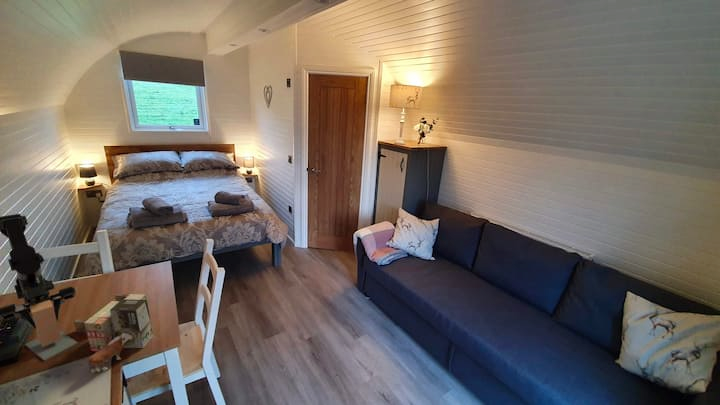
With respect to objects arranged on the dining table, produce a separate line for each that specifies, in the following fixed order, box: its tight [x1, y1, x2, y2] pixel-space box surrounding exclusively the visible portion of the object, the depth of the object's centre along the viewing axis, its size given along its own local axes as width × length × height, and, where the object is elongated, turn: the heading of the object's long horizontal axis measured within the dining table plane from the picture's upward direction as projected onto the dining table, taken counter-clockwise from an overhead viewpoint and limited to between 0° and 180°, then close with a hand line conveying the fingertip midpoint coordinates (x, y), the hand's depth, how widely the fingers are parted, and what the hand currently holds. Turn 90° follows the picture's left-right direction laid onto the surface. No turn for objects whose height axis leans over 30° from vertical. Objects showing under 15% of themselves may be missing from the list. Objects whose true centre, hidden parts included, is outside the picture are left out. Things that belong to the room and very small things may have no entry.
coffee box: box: [110, 299, 154, 349], centre depth 111 cm, size 9×6×16 cm
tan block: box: [29, 300, 62, 347], centre depth 107 cm, size 5×5×14 cm
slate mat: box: [25, 329, 79, 362], centre depth 109 cm, size 14×9×1 cm, turn 64°
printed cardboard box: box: [84, 293, 147, 352], centre depth 116 cm, size 21×6×12 cm, turn 179°
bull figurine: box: [87, 332, 133, 374], centre depth 103 cm, size 4×13×8 cm, turn 161°
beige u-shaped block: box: [73, 293, 130, 334], centre depth 124 cm, size 9×18×4 cm, turn 172°
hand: (46, 324), depth 106 cm, fingers closed on tan block, 5 cm apart
